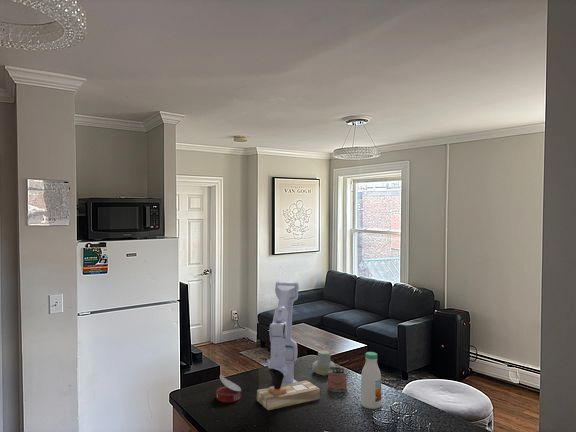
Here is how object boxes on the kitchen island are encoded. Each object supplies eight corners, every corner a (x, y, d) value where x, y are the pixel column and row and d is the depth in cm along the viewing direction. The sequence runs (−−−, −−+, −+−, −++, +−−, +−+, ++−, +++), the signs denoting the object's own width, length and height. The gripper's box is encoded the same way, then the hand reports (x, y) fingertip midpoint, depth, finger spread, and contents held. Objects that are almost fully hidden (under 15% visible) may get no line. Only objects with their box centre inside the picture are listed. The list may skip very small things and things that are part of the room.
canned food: (224, 403, 174) (229, 378, 178) (244, 406, 169) (249, 380, 174) (207, 399, 165) (213, 373, 170) (228, 402, 160) (233, 374, 165)
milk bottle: (369, 411, 158) (369, 357, 159) (356, 403, 165) (357, 351, 166) (385, 407, 162) (385, 354, 162) (372, 399, 169) (372, 349, 169)
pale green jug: (336, 371, 200) (336, 350, 200) (334, 377, 192) (334, 355, 192) (313, 369, 203) (314, 348, 203) (310, 375, 195) (311, 353, 195)
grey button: (290, 393, 171) (290, 386, 171) (301, 391, 173) (301, 384, 174) (297, 398, 167) (297, 390, 167) (307, 396, 169) (307, 388, 169)
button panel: (256, 400, 166) (256, 390, 166) (306, 389, 178) (306, 380, 178) (267, 410, 158) (268, 399, 158) (319, 398, 169) (319, 388, 169)
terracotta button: (268, 394, 166) (268, 387, 166) (279, 392, 169) (280, 384, 169) (274, 399, 162) (274, 391, 162) (285, 397, 164) (286, 389, 164)
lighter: (346, 389, 179) (347, 365, 179) (347, 392, 176) (347, 368, 176) (327, 388, 180) (327, 364, 180) (327, 391, 177) (327, 367, 177)
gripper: (260, 349, 170) (260, 383, 170) (277, 360, 157) (276, 396, 157) (276, 347, 173) (275, 380, 173) (293, 357, 161) (293, 393, 160)
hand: (277, 388), depth 165 cm, fingers closed
